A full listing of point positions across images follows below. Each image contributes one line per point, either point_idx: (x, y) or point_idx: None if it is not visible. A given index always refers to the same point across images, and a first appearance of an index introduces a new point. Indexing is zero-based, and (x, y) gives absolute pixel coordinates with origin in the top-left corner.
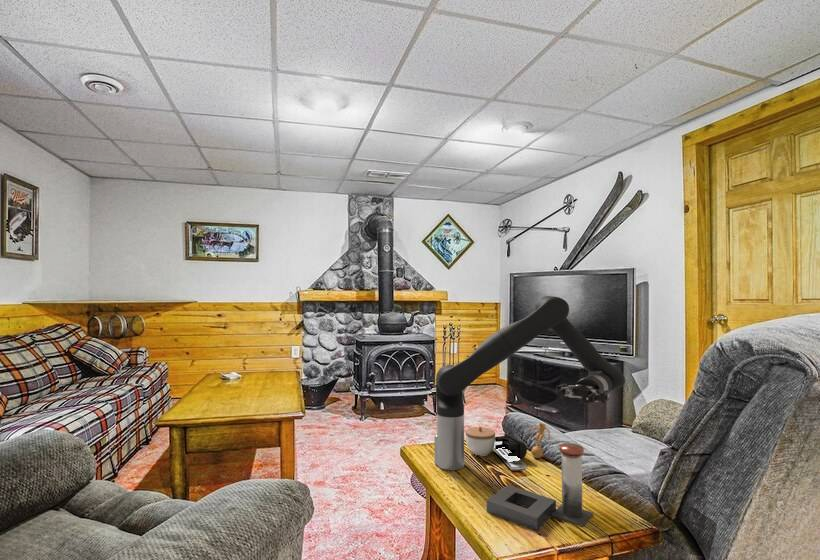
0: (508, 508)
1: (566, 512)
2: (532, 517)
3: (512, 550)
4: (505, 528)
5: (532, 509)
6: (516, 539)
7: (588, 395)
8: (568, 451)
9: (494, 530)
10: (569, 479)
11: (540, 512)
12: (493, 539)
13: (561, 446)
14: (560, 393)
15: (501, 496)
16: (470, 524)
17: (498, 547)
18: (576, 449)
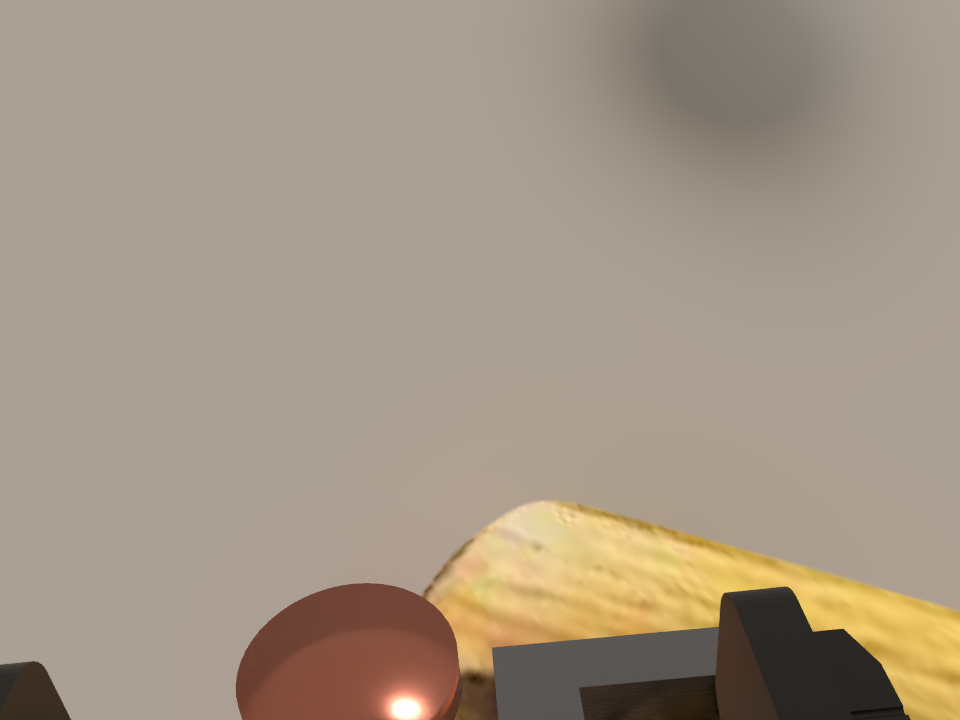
0: (652, 635)
1: None
2: (516, 649)
3: (497, 536)
4: (610, 617)
5: (556, 701)
6: (526, 589)
7: (17, 666)
8: (346, 592)
9: (631, 580)
10: None
11: (507, 703)
12: (590, 540)
13: (427, 622)
14: (726, 640)
15: None
16: (730, 552)
17: (545, 520)
18: (292, 643)
